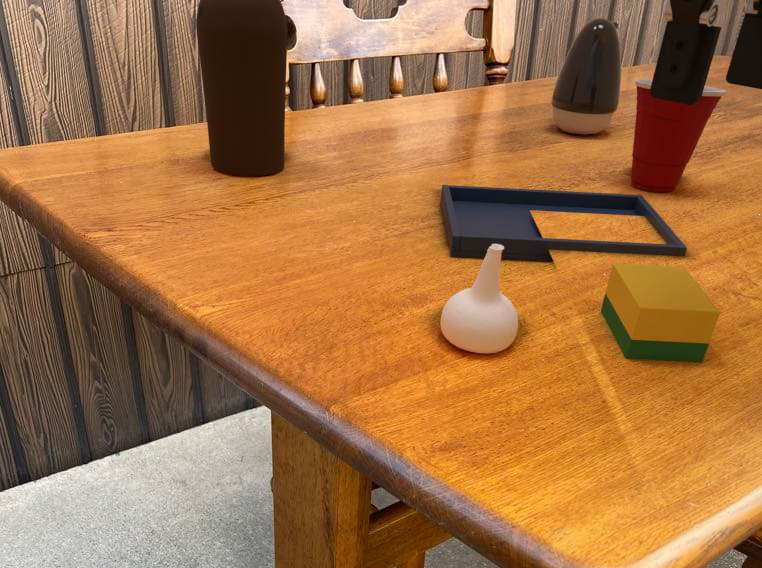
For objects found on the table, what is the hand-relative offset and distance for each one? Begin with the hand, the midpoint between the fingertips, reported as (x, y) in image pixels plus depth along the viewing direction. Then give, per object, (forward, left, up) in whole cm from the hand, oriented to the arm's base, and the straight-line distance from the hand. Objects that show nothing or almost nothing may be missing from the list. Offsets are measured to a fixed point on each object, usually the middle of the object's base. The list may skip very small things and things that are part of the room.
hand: (712, 92), depth 51 cm
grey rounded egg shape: (-12, -80, -19) cm, 83 cm away
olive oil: (+37, -50, -19) cm, 66 cm away
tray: (+1, -30, -19) cm, 36 cm away
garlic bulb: (+12, -2, -19) cm, 23 cm away
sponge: (-2, -2, -19) cm, 19 cm away
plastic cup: (-16, -51, -19) cm, 57 cm away
